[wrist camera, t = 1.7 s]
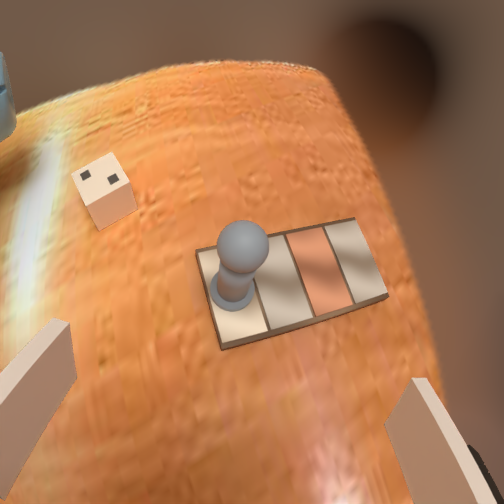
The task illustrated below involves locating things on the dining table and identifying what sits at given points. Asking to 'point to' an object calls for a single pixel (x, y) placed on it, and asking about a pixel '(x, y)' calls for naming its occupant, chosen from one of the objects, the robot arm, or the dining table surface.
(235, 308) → the pawn
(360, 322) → the dining table surface
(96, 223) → the die
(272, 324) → the board
